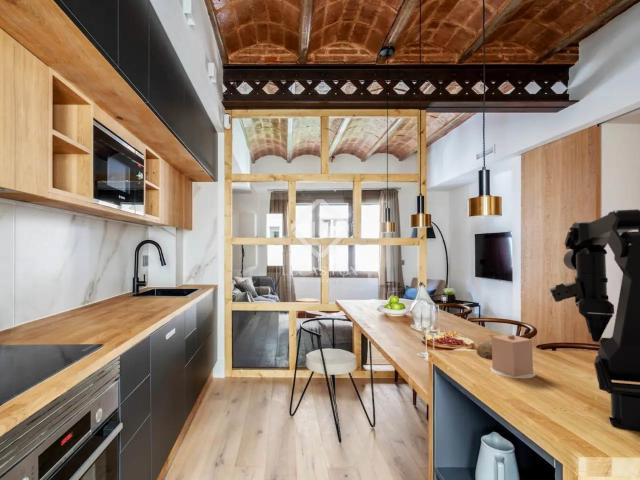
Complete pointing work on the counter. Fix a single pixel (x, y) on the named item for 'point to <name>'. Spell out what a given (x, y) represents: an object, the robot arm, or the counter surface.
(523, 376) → the plate
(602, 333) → the robot arm
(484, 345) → the bread roll
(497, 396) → the counter surface
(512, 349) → the pink knobbed box
